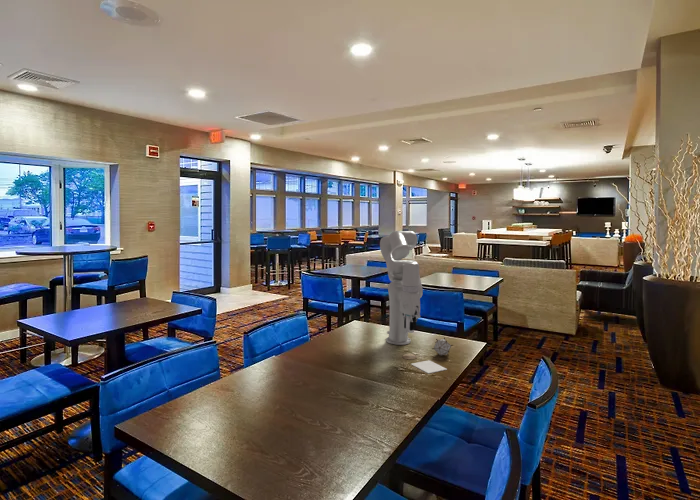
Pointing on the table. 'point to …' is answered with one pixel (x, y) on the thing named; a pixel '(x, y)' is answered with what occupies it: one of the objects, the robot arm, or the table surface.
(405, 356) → the disc
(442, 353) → the game die
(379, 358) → the table surface
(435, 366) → the paper
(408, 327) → the marker
